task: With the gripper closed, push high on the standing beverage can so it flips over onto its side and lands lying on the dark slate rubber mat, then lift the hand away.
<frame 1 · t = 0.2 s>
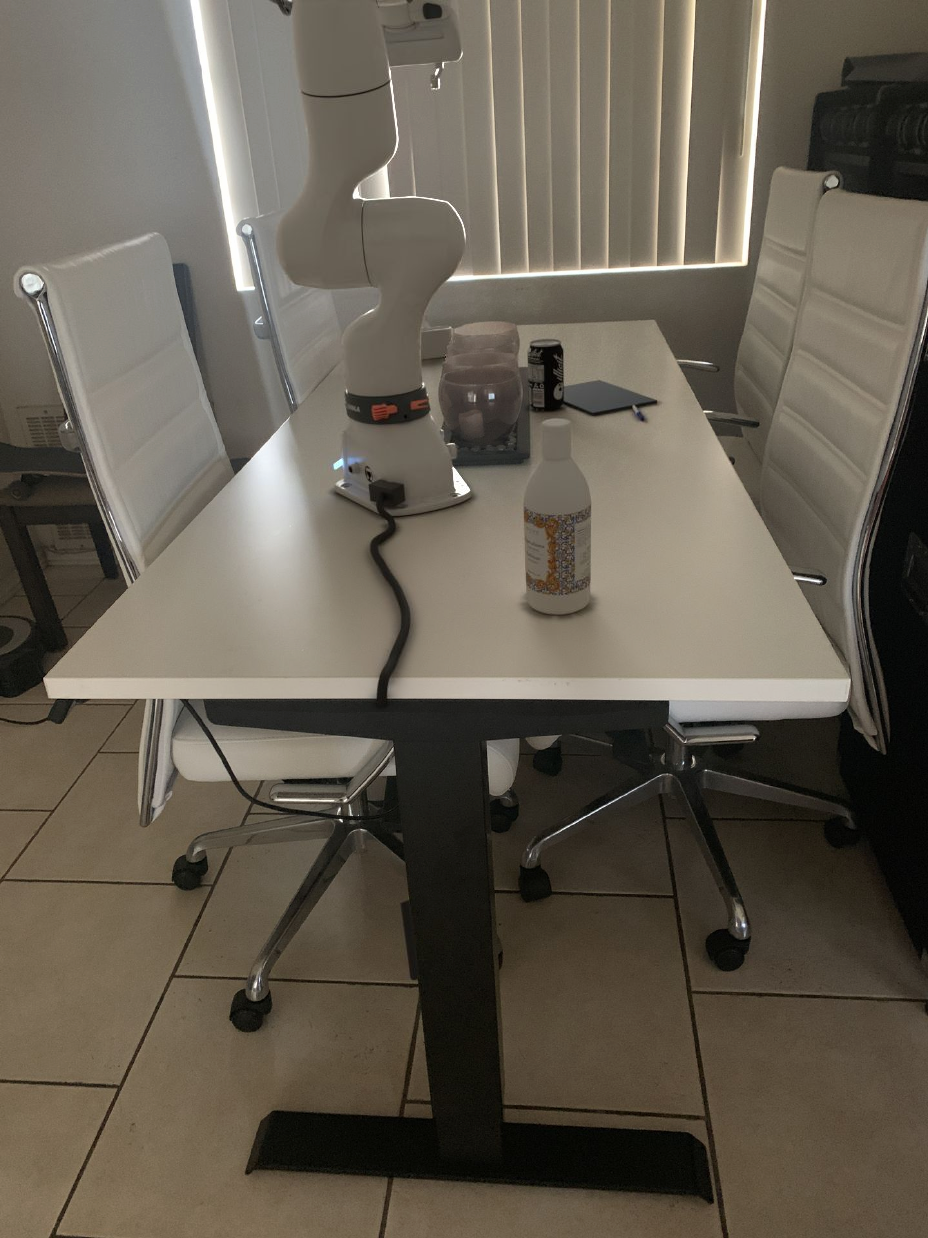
hand: (409, 89, 159), 54 cm above the table, tool tilted 30°, fingers open, 8 cm apart
beverage can: (546, 408, 167), on the table
bath foam: (558, 603, 97), on the table
ballpoint pen: (637, 414, 160), on the table
phone holder: (427, 352, 219), on the table
mat: (596, 397, 170), on the table
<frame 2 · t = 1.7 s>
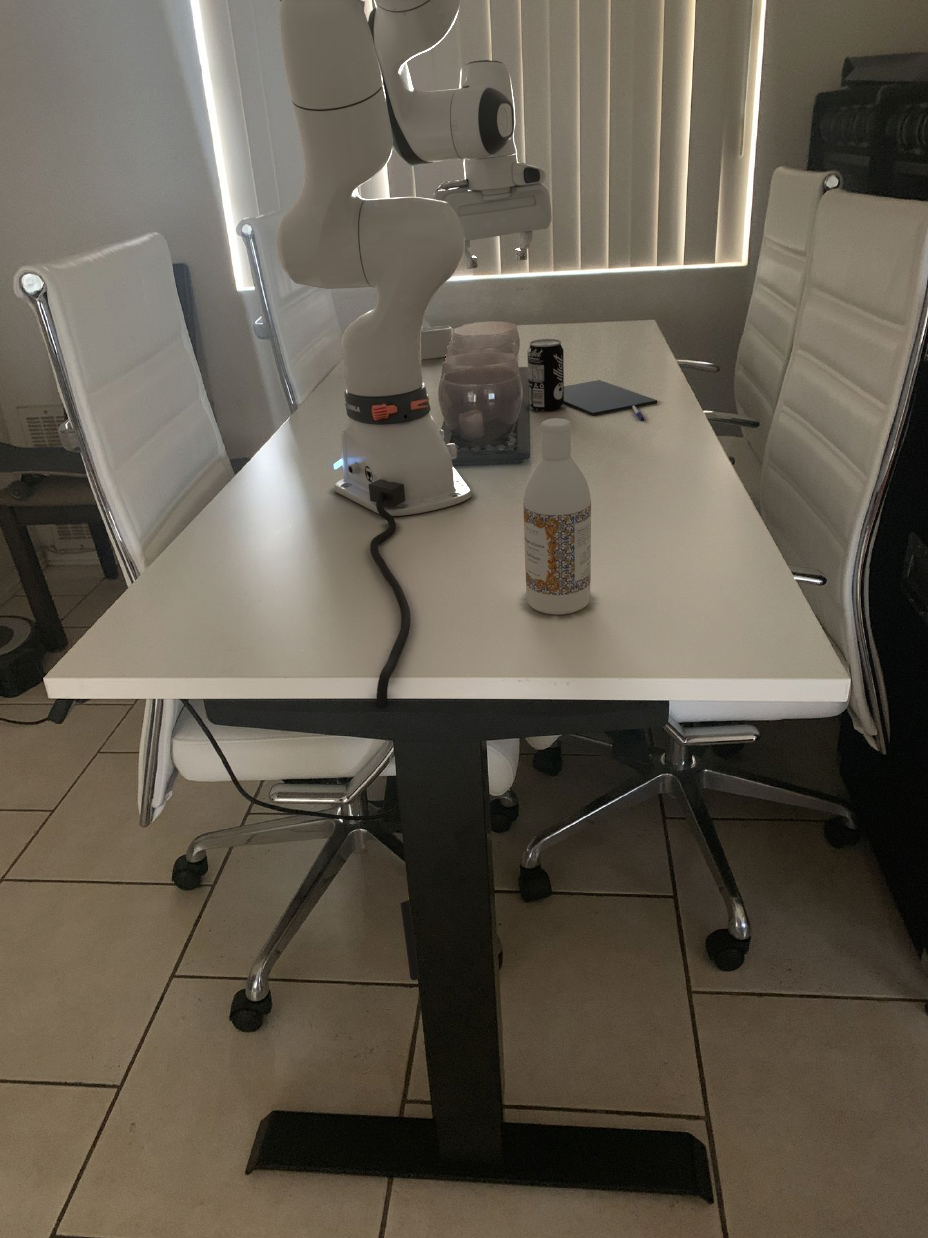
hand: (497, 263, 154), 26 cm above the table, tool pointing down, fingers open, 8 cm apart
nothing on the table moved.
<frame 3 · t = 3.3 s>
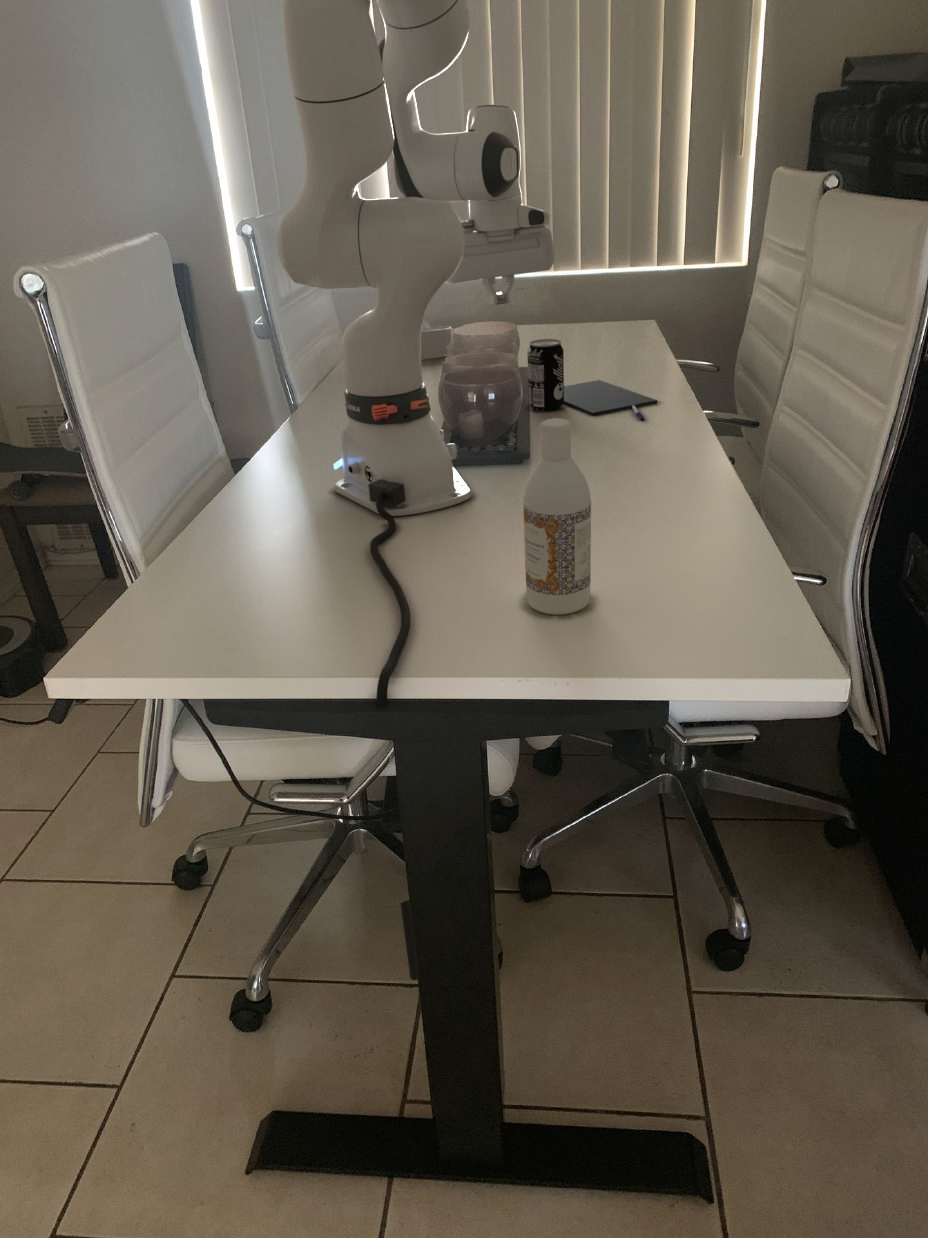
hand: (499, 303, 154), 20 cm above the table, tool pointing down, fingers closed
nothing on the table moved.
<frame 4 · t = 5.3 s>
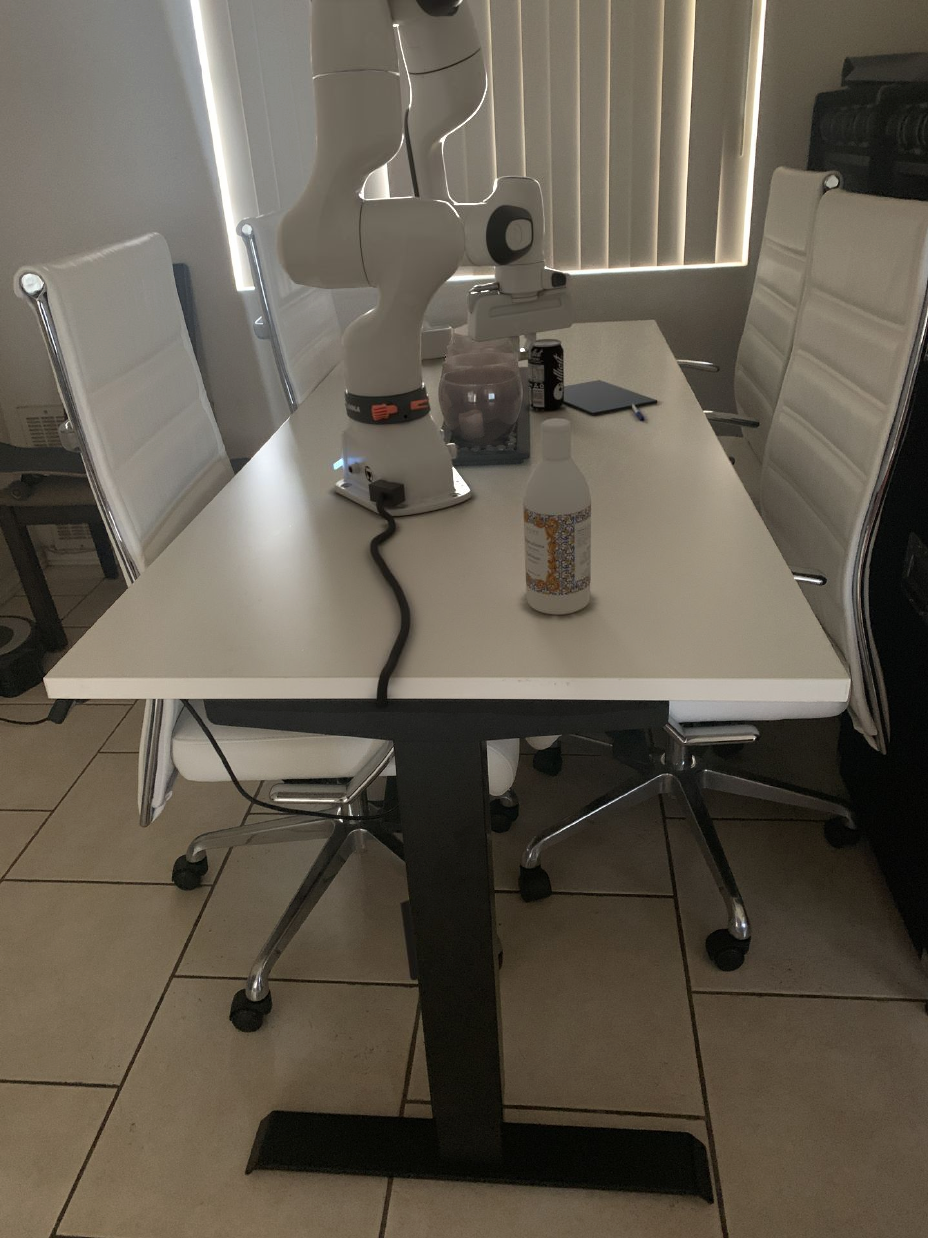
hand: (522, 359, 161), 9 cm above the table, tool pointing down, fingers closed
beverage can: (546, 408, 167), on the table, touching gripper
everything else where it was.
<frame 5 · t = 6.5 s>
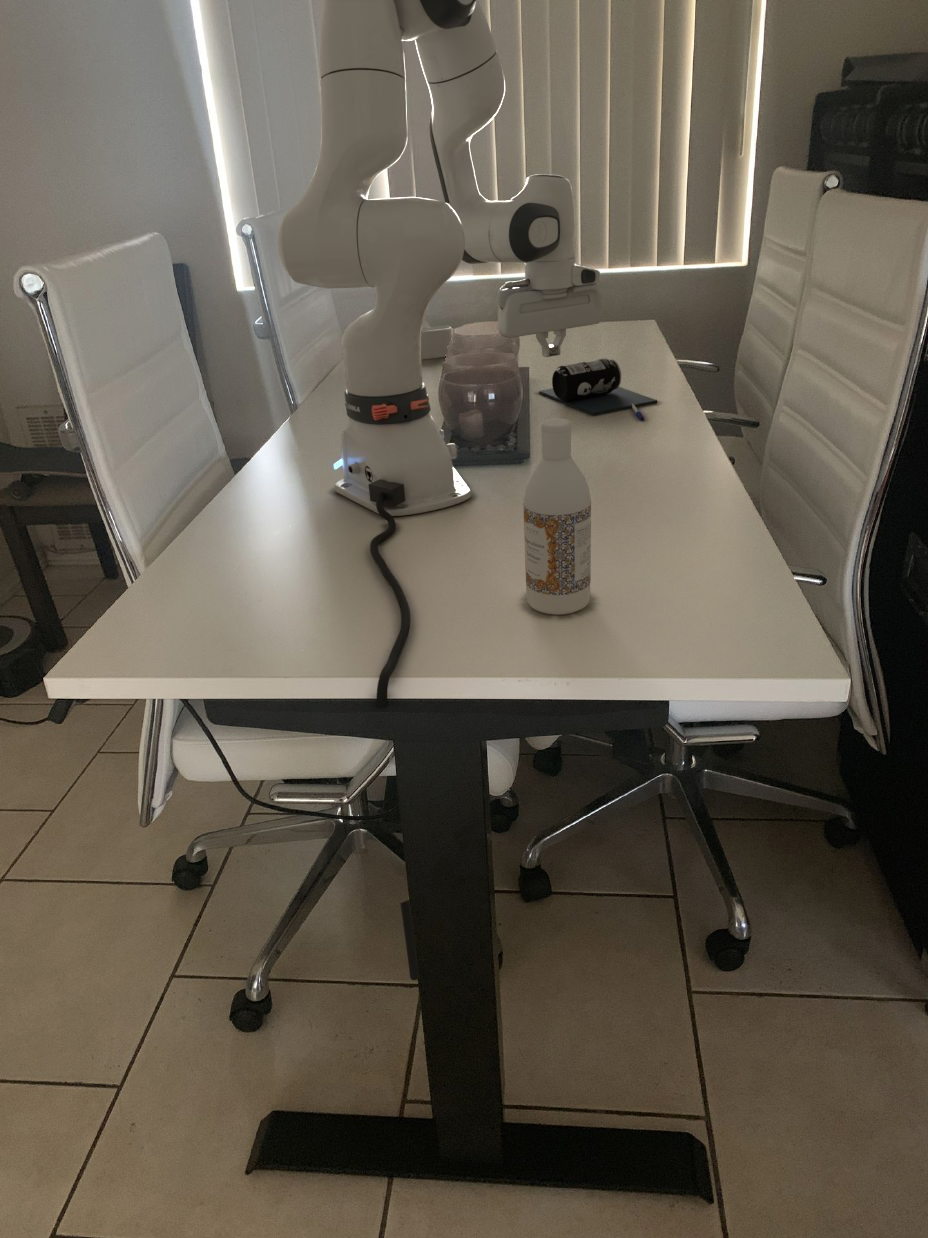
hand: (551, 355, 163), 9 cm above the table, tool pointing down, fingers closed
beverage can: (558, 384, 166), point 4 cm above the table, touching mat
everything else where it was.
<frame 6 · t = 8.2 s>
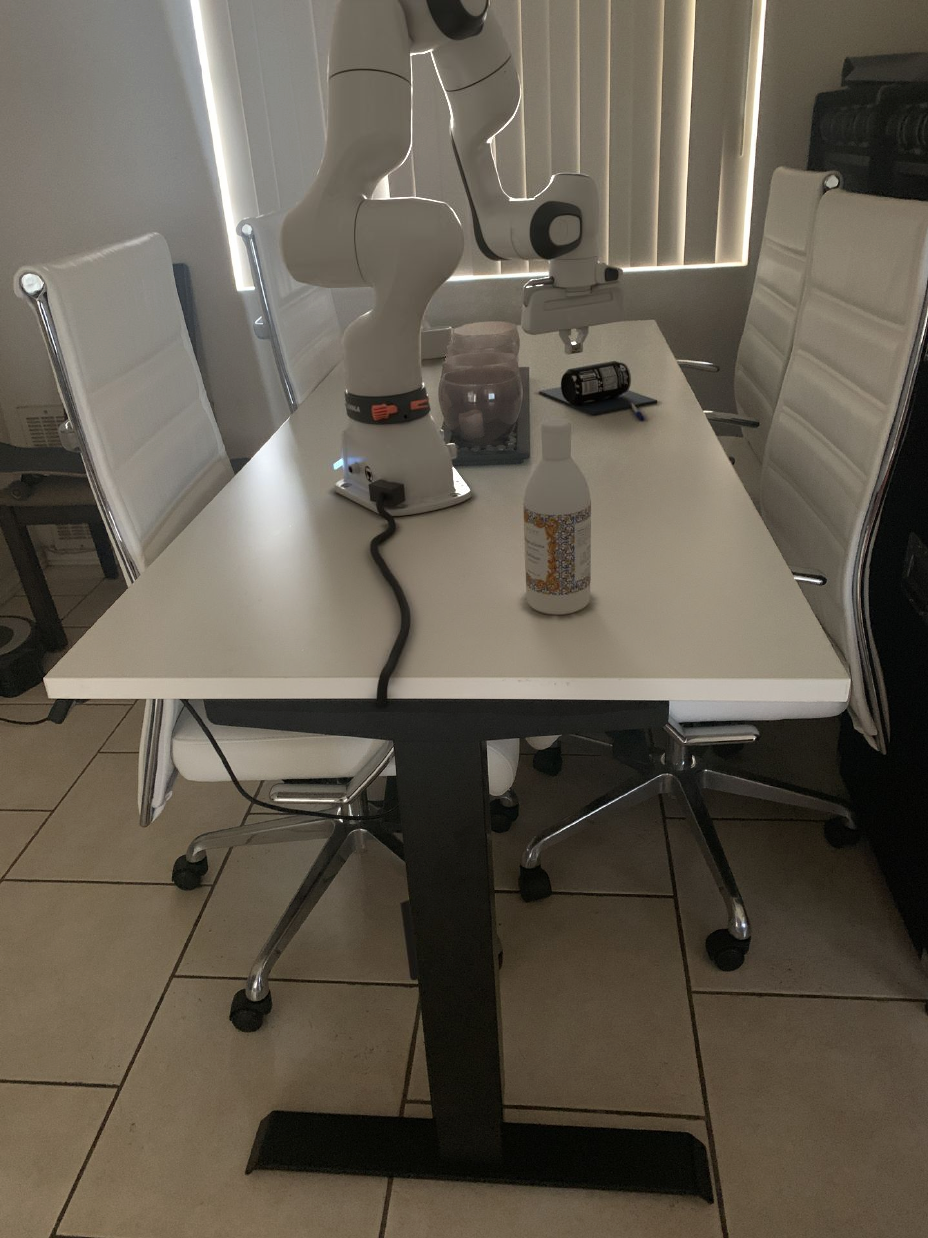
hand: (573, 352, 164), 9 cm above the table, tool pointing down, fingers closed
beverage can: (567, 387, 163), point 4 cm above the table, touching mat
ballpoint pen: (636, 414, 160), on the table, touching mat
everything else where it was.
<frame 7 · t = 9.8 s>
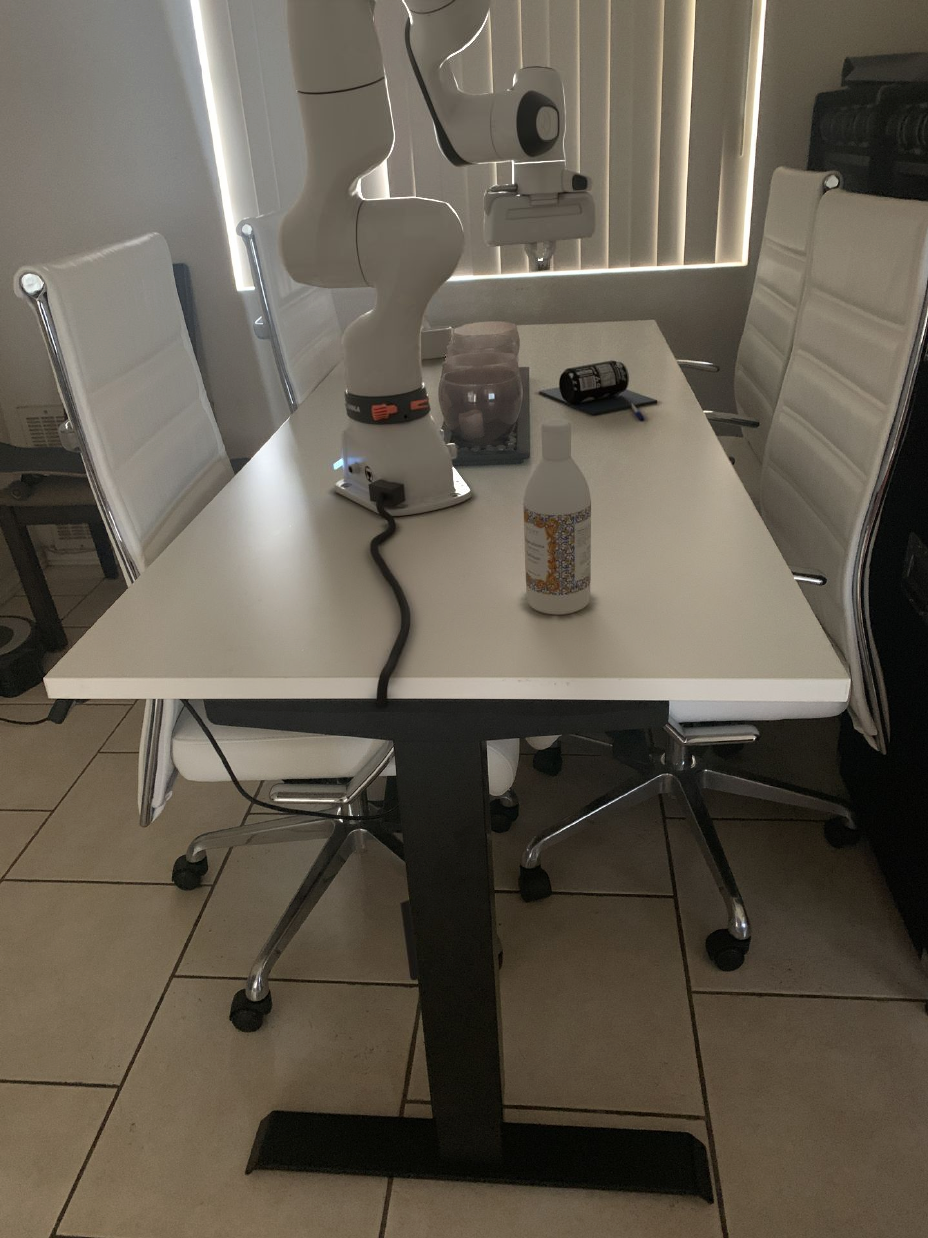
hand: (540, 270, 154), 24 cm above the table, tool pointing down, fingers closed
ballpoint pen: (636, 414, 160), on the table
everything else where it was.
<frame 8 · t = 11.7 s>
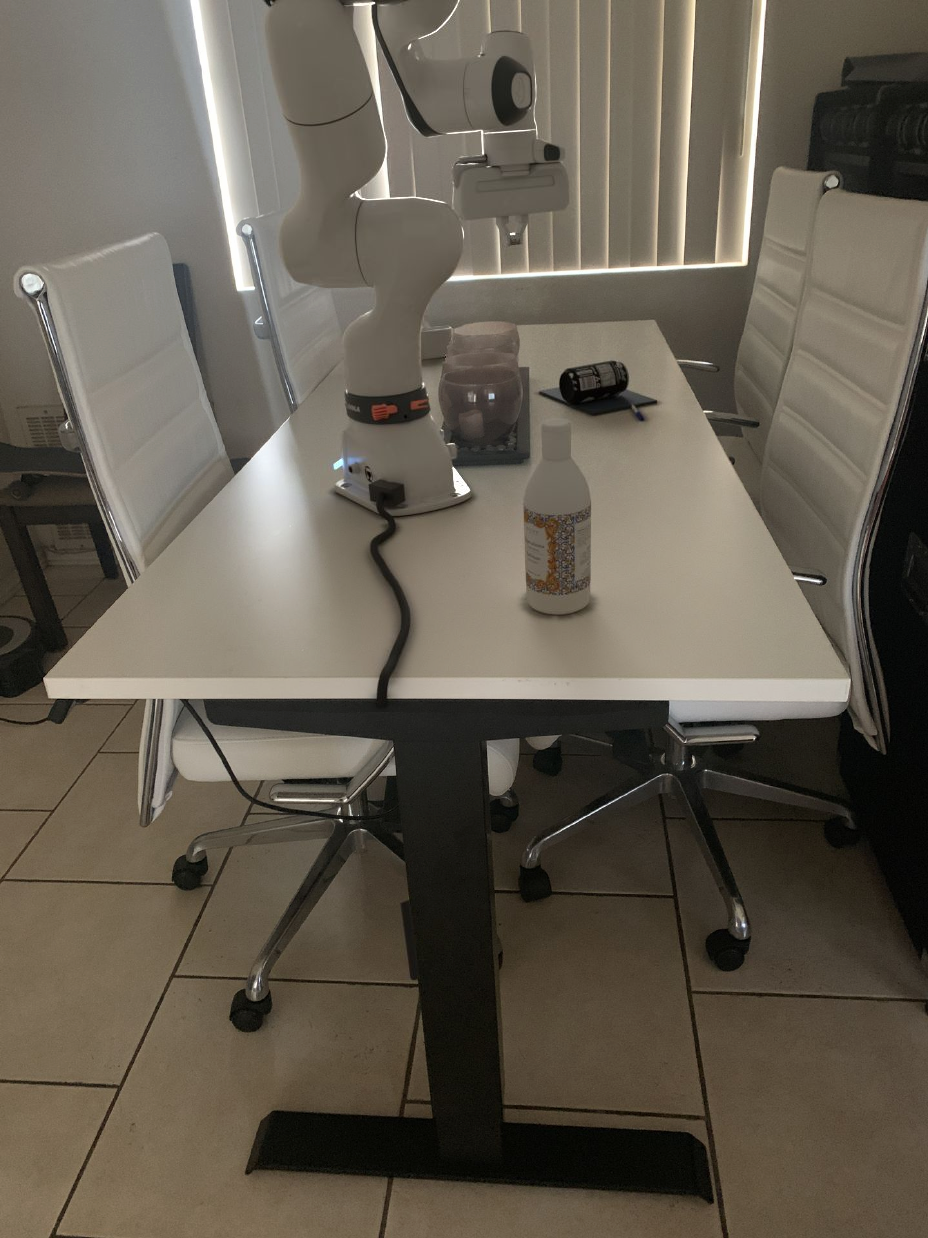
hand: (512, 245, 149), 29 cm above the table, tool pointing down, fingers closed
nothing on the table moved.
at the end: beverage can tilted 90°; beverage can touching mat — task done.
